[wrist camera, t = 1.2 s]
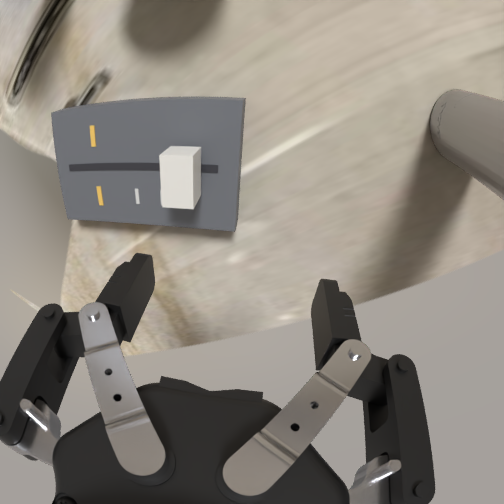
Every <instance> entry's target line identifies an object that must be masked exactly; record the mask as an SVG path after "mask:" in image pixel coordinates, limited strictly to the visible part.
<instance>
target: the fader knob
mask: <svg viewBox="0 0 504 504" xmlns="http://www.w3.org/2000/svg"><path fill="white" fill-rule="evenodd" d="M159 160H160V181H161V196H162V207H166V208H181V209H194V208H195V206H196V204H197V202H198V200H199V198H200V196H201V147H191V146H170V147H169V148H168V149H166V150H165V151H164V152H163V153H161V154H160V155H159Z"/></svg>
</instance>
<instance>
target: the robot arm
mask: <svg viewBox="0 0 504 504" xmlns="http://www.w3.org/2000/svg"><path fill="white" fill-rule="evenodd" d="M430 127H431V135H432V139H433V142H434V144H435V146H436V148H437V149H438V151H439V152H440V153H441V154H442V155H443V156H444V157H445V158H446V159H448V160H449V161H451V162H452V163H454V164H455V165H457V166H458V167H460V168H461V169H463V170H464V171H465V172H467V173H468V174H470V175H471V176H473V177H474V178H475V179H477V180H478V181H479V182H481V183H482V184H483V185H485V186H486V187H487V188H489V189H490V190H491V191H493V192H494V193H495V194H497V195H498V196H499V197H500V198H502V199H503V200H504V101H502V100H498V99H495V98H491V97H488V96H484V95H481V94H477V93H472V92H468V91H463V90H451V91H448V92H446V93H445V94H443V95H442V96H441V97H440V98H439V99H438V100H437V102H436V104H435V106H434V108H433V111H432V114H431V122H430ZM154 286H155V276H154V268H153V259H152V256H151V255H148V254H141V253H136V254H135V255H134V256H133V258H132V260H131V261H130V262H124V263H123V264H121V265H120V266H119V267H117V269H116V270H115V272H114V273H113V276H111V278H110V279H109V282H107V284H106V286H105V287H104V289H103V290H102V292H101V294H100V295H99V297H98V298H97V300H96V302H93V303H89V304H87V305H85V306H84V307H83V308H82V309H81V310H80V312H63V309H62V308H61V306H60V305H58V304H48V305H45V306H44V307H42V308H41V309H40V310H39V312H38V313H37V315H36V316H35V318H34V320H33V321H32V323H31V325H30V327H29V328H28V330H27V332H26V334H25V335H24V337H23V339H22V340H21V342H20V344H19V346H18V348H17V349H16V351H15V353H14V355H13V357H12V359H11V361H10V363H9V365H8V367H7V369H6V371H5V373H4V375H3V377H2V379H1V381H0V440H1V441H2V442H3V443H4V444H5V445H7V446H8V447H10V448H11V449H13V450H14V451H16V452H17V453H19V454H21V455H23V456H25V457H27V458H28V459H30V460H40V461H42V462H44V463H46V464H48V465H51V466H53V468H54V473H55V480H56V493H55V498H54V501H53V503H52V504H428V503H429V502H430V501H431V500H432V498H433V496H434V493H435V479H434V470H433V460H432V452H431V444H430V437H429V431H428V425H427V419H426V414H425V409H424V403H423V398H422V393H421V389H420V384H419V380H418V376H417V371H416V367H415V365H414V363H413V361H412V360H411V359H410V358H408V357H407V356H405V355H400V354H397V355H393V356H392V357H391V358H390V359H389V360H387V359H384V358H381V357H378V356H375V355H373V354H371V352H370V349H369V348H368V346H367V345H366V344H364V343H363V342H362V341H361V337H360V333H359V329H358V324H357V320H356V317H355V312H354V308H353V304H352V300H351V299H350V297H349V296H348V295H347V293H346V292H340V291H339V287H338V283H337V281H336V280H328V279H321V280H320V282H319V285H318V288H317V291H316V294H315V297H314V300H313V303H312V308H311V318H312V328H313V339H314V351H315V363H316V370H320V371H319V372H316V373H315V374H314V375H313V376H312V378H311V379H310V380H309V381H308V382H307V383H306V384H305V385H304V387H303V388H302V389H301V390H300V391H299V392H298V393H297V394H296V395H295V396H294V398H293V399H292V400H291V401H290V402H289V403H288V404H287V405H286V406H285V407H284V408H283V409H281V408H279V407H278V406H276V405H275V404H273V403H271V402H269V401H267V400H264V399H262V397H263V392H257V391H248V390H240V389H235V390H222V391H208V390H206V389H203V388H201V387H198V386H196V385H194V384H191V383H189V382H187V381H183V380H178V379H173V378H168V377H163V376H161V379H160V383H151V384H147V385H143V386H140V387H138V388H136V386H135V384H134V382H133V379H132V377H131V374H130V372H129V369H128V367H127V364H126V362H125V359H124V356H123V353H122V351H121V348H120V345H121V343H122V341H127V342H131V340H132V337H133V335H134V333H135V330H136V328H137V326H138V324H139V321H140V319H141V317H142V315H143V313H144V310H145V308H146V306H147V304H148V302H149V300H150V297H151V295H152V293H153V291H154ZM79 357H85V360H86V364H87V367H88V371H89V375H90V378H91V382H92V385H93V389H94V392H95V395H96V399H97V402H98V404H99V408H100V410H101V412H99V413H97V414H96V415H94V416H93V417H91V418H90V419H88V420H86V421H85V422H83V423H82V424H80V425H79V426H77V427H75V428H74V429H72V430H70V431H69V432H67V433H66V434H64V435H63V436H62V437H60V433H61V432H60V430H61V423H60V420H59V418H58V416H57V413H58V410H59V407H60V405H61V402H62V399H63V396H64V394H65V391H66V388H67V386H68V383H69V381H70V378H71V376H72V373H73V371H74V369H75V366H76V364H77V361H78V359H79ZM346 396H350V397H353V398H356V399H359V400H362V401H363V411H364V425H365V441H366V464H365V465H363V466H362V467H360V468H359V469H358V471H357V472H356V474H355V479H354V483H353V485H352V487H351V488H350V489H349V490H348V489H347V487H346V485H345V483H344V482H343V481H342V480H341V479H340V477H339V476H338V475H337V474H336V473H335V472H334V471H333V469H332V468H331V467H330V466H329V465H328V464H327V462H325V460H324V459H323V458H322V457H321V456H320V454H319V453H318V452H317V451H316V450H315V448H314V447H313V446H312V445H311V442H312V441H313V439H314V438H315V437H316V436H317V434H318V433H319V432H320V431H321V429H322V428H323V427H324V426H325V424H326V423H327V422H328V421H329V419H330V418H331V417H332V415H333V414H334V413H335V411H336V410H337V409H338V407H339V406H340V405H341V403H342V402H343V400H344V399H345V398H346Z"/></svg>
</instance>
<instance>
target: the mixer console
mask: <svg viewBox="0 0 504 504" xmlns="http://www.w3.org/2000/svg"><path fill="white" fill-rule="evenodd" d="M245 99H246V98H230V97H161V98H144V99H131V100H120V101H111V102H103V103H95V104H88V105H81V106H75V107H69V108H65V109H62V110H59V111H55V112H52V113H51V115H52V127H53V137H54V145H55V153H56V160H57V167H58V173H59V179H60V184H61V189H62V195H63V199H64V204H65V209H66V213H67V218H68V219H75V220H91V221H106V222H121V223H135V224H149V225H162V226H175V227H187V228H199V229H211V230H223V231H234V232H235V230H236V225H237V220H238V207H239V190H240V174H241V158H242V142H243V127H244V113H245ZM170 146H191V147H201V196H200V198H199V200H198V202H197V204H196V206H195V208H194V209H181V208H166V207H162V196H161V181H160V160H159V155H160V154H161V153H163V152H164V151H165V150H166V149H168V148H169V147H170Z"/></svg>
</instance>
